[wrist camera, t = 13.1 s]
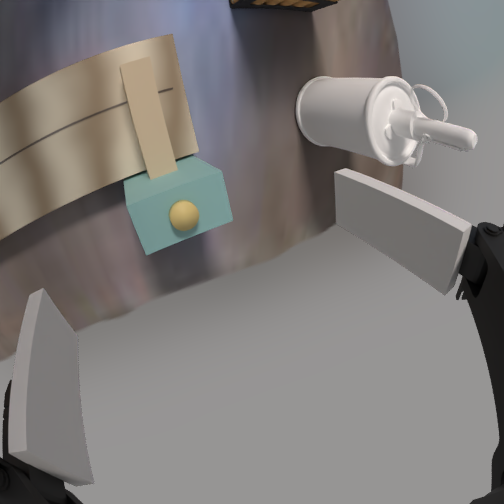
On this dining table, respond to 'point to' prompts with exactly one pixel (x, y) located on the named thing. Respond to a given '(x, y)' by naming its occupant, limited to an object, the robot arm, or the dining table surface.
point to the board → (82, 131)
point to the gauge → (167, 173)
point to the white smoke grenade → (374, 119)
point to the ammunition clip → (283, 4)
